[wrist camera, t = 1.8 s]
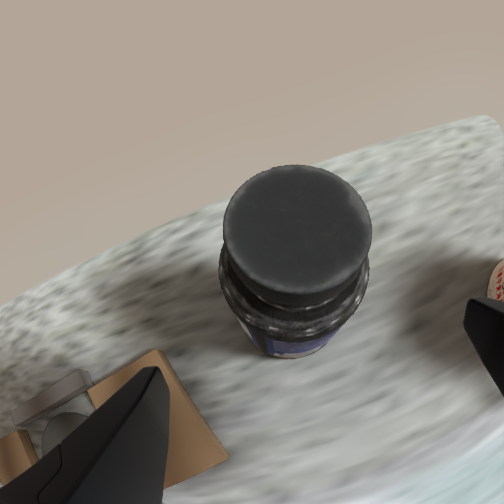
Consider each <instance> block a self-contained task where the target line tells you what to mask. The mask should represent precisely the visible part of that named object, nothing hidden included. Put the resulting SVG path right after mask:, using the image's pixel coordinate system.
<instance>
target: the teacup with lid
mask: <svg viewBox="0 0 504 504" xmlns="http://www.w3.org/2000/svg"><path fill="white" fill-rule="evenodd" d="M487 297H488V298H492V299H496V300H500V301H504V259H503V260H502V261H501V262H500V263H499V264H498V265H497V266H496V267H495V269H494V270H493V272H492V275H491V277H490V280H489V284H488V291H487Z"/></svg>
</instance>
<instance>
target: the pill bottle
mask: <svg viewBox="0 0 504 504" xmlns="http://www.w3.org/2000/svg"><path fill="white" fill-rule="evenodd" d="M223 239H224V244H223V247H222V249H221V253H220V260H219V269H218V271H219V279H220V284H221V289H222V290H223V293H224V295H225V299H226V300H227V303H228V304H229V306H230V308H231V309H232V311H233V312H234V314H235V316H236V317H237V319H238V321H239V322H240V324H241V326H242V327H243V329H244V331H245V333H246V334H247V336H248V337H249V339H250V340H251V341H252V342H253V343H254V344H255V345H256V346H257V347H259V348H260V349H261V350H262V351H263V352H265V353H267V354H269V355H271V356H274V357H277V358H283V359H296V358H301V357H304V356H308V355H310V354H313V353H315V352H316V351H318V350H319V349H321V348H322V347H323V346H325V345H326V344H327V342H328V341H329V340H330V339H331V338H332V337H333V335H334V334H335V333H336V332H337V331H338V330H339V329H340V328H341V327H342V325H343V324H344V323H345V322H346V321H347V320H348V319H349V318H350V317H351V315H353V314H354V312H355V310H356V309H357V308H358V306H359V304H360V302H361V301H362V299H363V296H364V294H365V291H366V288H367V284H368V280H369V279H368V278H369V269H370V268H369V259H368V252H369V249H370V246H371V239H372V224H371V219H370V216H369V212H368V210H367V207H366V205H365V203H364V202H363V200H362V198H361V196H360V195H359V194H358V193H357V191H356V190H355V189H354V188H353V187H352V186H351V185H350V184H349V183H348V182H346V181H344V180H343V179H341V178H340V177H338V176H337V175H335V174H333V173H331V172H329V171H327V170H324V169H321V168H315V167H312V166H306V165H285V166H278V167H273V168H271V169H270V170H267V171H262V172H261V173H259V174H256V175H255V176H253V177H252V178H250V179H249V180H247V181H246V182H245V183H244V184H243V185H242V186H241V187H240V188H239V189H238V190H237V191H236V192H235V194H234V195H233V196H232V198H231V200H230V202H229V204H228V206H227V208H226V212H225V215H224V221H223Z"/></svg>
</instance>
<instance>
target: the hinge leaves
mask: <svg viewBox="0 0 504 504" xmlns="http://www.w3.org/2000/svg"><path fill="white" fill-rule="evenodd" d="M147 366H158V367H159V368H160V370H161V372H162V374H163V376H164V378H165V380H166V383H167V385H168V387H169V390H170V422H169V447H168V455H167V463H166V471H165V480H164V488H163V489H165V488H168V487H170V486H172V485H175V484H177V483H179V482H182V481H184V480H186V479H188V478H190V477H193V476H195V475H197V474H199V473H201V472H203V471H205V470H207V469H209V468H211V467H213V466H215V465H217V464H219V463H221V462H223V461H225V460H226V459H227V458H228V457H229V454H228V453H227V452H226V450H225V449H224V447H223V446H222V445H221V443H220V442H219V440H218V439H217V438H216V436H215V435H214V433H213V432H212V430H211V429H210V428H209V426H208V425H207V423H206V422H205V420H204V419H203V417H202V416H201V414H200V413H199V411H198V409H197V408H196V406H195V405H194V403H193V402H192V400H191V399H190V397H189V395H188V394H187V392H186V391H185V389H184V387H183V386H182V384H181V382H180V381H179V379H178V377H177V376H176V374H175V372H174V371H173V369H172V367H171V365H170V364H169V362H168V360H167V358H166V357H165V355H164V353H163V351H161V350H158V349H154V350H152V351H151V352H149V353H148V354H146V355H144V356H143V357H141V358H139V359H138V360H136V361H135V362H133V363H131V364H130V365H128V366H126V367H125V368H123V369H121V370H120V371H118V372H116V373H115V374H113V375H112V376H110V377H108V378H107V379H105V380H103V381H102V382H100V383H98V384H97V385H95V386H94V385H93V383H92V381H91V378H90V376H89V374H88V371H83V370H79V369H78V370H76V371H75V372H73V373H72V374H70V375H68V376H67V377H65V378H64V379H62V380H61V381H59V382H57V383H56V384H54V385H53V386H51V387H49V388H48V389H46V390H45V391H43V392H42V393H40V394H38V395H37V396H35V397H34V398H32V399H30V400H29V401H27V402H26V403H24V404H22V405H21V406H19V407H18V408H16V409H14V410H13V411H11V412H10V414H11V417H12V420H13V422H14V425H15V426H26V425H28V424H29V423H31V422H33V421H35V420H36V419H38V418H40V417H42V416H43V415H45V414H47V413H49V412H50V411H52V410H54V409H56V408H57V407H59V406H61V405H63V404H64V403H66V402H68V401H70V400H71V399H73V398H75V397H76V396H78V395H80V394H81V393H83V392H85V391H88V394H89V396H90V398H91V400H92V402H93V404H94V406H95V408H96V410H97V409H98V408H99V407H100V406H101V405H102V404H103V403H104V402H105V401H107V400H108V399H109V398H110V397H111V396H112V395H113V394H114V393H115V392H116V391H118V390H119V389H120V388H121V387H122V386H123V385H124V384H125V383H126V382H127V381H129V380H130V379H131V378H132V377H133V376H134V375H135V374H136V373H137V372H138V371H140V370H141V369H142V368H143V367H147ZM87 418H88V417H86V416H83V415H80V414H77V413H63V414H60V415H57V416H56V417H54V418H53V419H52V420H51V421H50V422H49V423H48V425H47V426H46V428H45V431H44V434H43V441H42V449H43V456H45V455H46V454H47V453H48V452H49V451H50V450H52V449H53V448H54V447H55V446H56V445H57V444H60V442H61V441H62V440H63V439H64V438H65V437H66V436H67V435H69V434H70V433H71V432H72V431H73V430H74V429H75V428H76V427H78V426H79V425H80V424H81V423H82V422H83V421H84V420H85V419H87ZM37 461H39V458H38V456H37V454H36V452H35V450H34V448H33V445H32V443H31V441H30V439H29V436H28V434H27V431H15V432H13V433H11V434H9V435H7V436H6V437H4V438H2V439H0V480H1V482H2V484H3V486H4V485H6V484H7V483H9V482H10V481H11V480H13V479H14V478H16V477H17V476H19V475H20V474H21V473H23V472H24V471H25V470H27V469H28V468H30V467H31V466H32V465H33V464H35V463H36V462H37ZM162 504H163V502H162Z"/></svg>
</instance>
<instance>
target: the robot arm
mask: <svg viewBox="0 0 504 504" xmlns="http://www.w3.org/2000/svg"><path fill="white" fill-rule="evenodd" d="M463 325H464V329H465V331H466V333H467V335H468V336H469V338H470V340H471V342H472V344H473V345H474V347H475V349H476V351H477V353H478V355H479V357H480V359H481V360H482V362H483V364H484V366H485V367H486V369H487V371H488V372H489V374H490V375H491V377H492V379H493V380H494V382H495V383H496V385H497V387H498V388H499V390H500V392H501V393H502V395H503V397H504V301H500V300H496V299H492V298H488V297H484V296H476V297H473V298H470V299H469V300H468V302H467V306H466V311H465V316H464V321H463ZM169 422H170V390H169V387H168V385H167V383H166V380H165V378H164V376H163V374H162V372H161V370H160V368H159V367H158V366H147V367H143V368H142V369H141V370H140V371H138V372H137V373H136V374H135V375H134V376H133V377H132V378H131V379H130V380H129V381H127V382H126V383H125V384H124V385H123V386H122V387H121V388H120V389H119V390H118V391H116V392H115V393H114V394H113V395H112V396H111V397H110V398H109V399H108V400H107V401H105V402H104V403H103V404H102V405H101V406H100V407H99V408H98V409H97V410H95V411H94V412H93V413H92V414H91V415H90V416H89V417H88V418H87V419H85V420H84V421H83V422H82V423H81V424H80V425H79V426H78V427H76V428H75V429H74V430H73V431H72V432H71V433H70V434H69V435H67V436H66V437H65V438H64V439H63V440H62V441H61V442H60V444H57V445H56V446H55V447H54V448H53V449H52V450H50V451H49V452H48V453H47V454H46V455H45V456H43V457H42V458H41V459H40V460H39V461H37V462H36V463H35V464H33V465H32V466H31V467H30V468H28V469H27V470H25V471H24V472H23V473H21V474H20V475H19V476H17V477H16V478H14V479H13V480H11V481H10V482H9V483H7V484H6V485H4V486H3V487H1V488H0V504H162V498H163V488H164V480H165V471H166V463H167V455H168V447H169Z"/></svg>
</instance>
